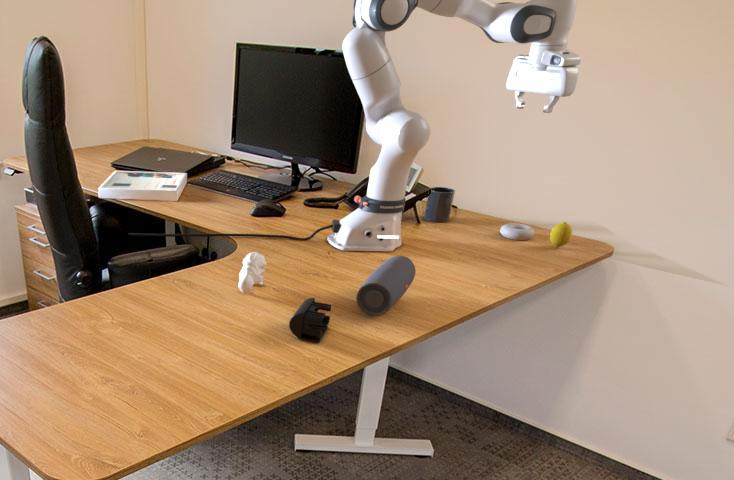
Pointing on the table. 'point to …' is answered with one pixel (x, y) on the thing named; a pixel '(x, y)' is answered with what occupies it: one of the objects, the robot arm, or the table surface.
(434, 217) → the pen cup
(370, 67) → the robot arm
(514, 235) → the donut
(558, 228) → the lemon
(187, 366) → the table surface
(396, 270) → the bluetooth speaker
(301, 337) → the end cap
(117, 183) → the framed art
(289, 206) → the table surface
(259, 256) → the white figurine
